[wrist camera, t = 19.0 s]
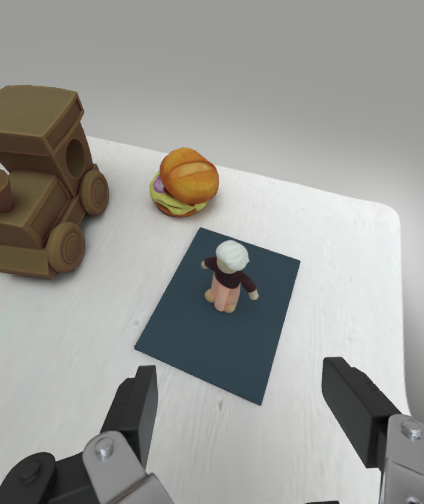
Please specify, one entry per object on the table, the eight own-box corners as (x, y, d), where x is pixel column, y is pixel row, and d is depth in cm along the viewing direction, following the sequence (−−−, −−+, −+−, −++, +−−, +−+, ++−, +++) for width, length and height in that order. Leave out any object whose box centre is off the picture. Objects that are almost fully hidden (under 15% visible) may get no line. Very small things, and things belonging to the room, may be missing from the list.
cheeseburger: (168, 169, 51) (175, 124, 42) (219, 197, 51) (235, 157, 42) (138, 206, 46) (138, 162, 37) (194, 237, 46) (207, 200, 37)
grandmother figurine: (192, 301, 36) (186, 249, 26) (205, 278, 38) (204, 220, 28) (246, 325, 35) (264, 280, 24) (257, 300, 37) (277, 247, 26)
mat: (134, 349, 34) (133, 347, 33) (200, 229, 44) (200, 226, 43) (260, 405, 30) (261, 405, 30) (299, 262, 41) (300, 260, 40)
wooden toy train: (57, 180, 49) (-2, 81, 35) (119, 186, 49) (83, 89, 35) (-5, 278, 39) (-126, 192, 25) (73, 288, 38) (-5, 206, 24)
